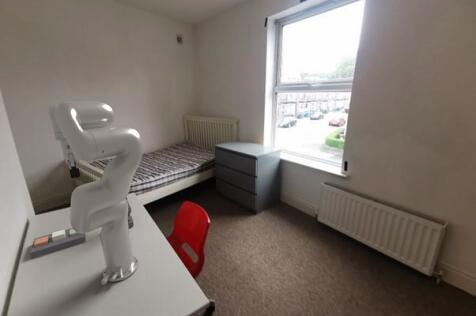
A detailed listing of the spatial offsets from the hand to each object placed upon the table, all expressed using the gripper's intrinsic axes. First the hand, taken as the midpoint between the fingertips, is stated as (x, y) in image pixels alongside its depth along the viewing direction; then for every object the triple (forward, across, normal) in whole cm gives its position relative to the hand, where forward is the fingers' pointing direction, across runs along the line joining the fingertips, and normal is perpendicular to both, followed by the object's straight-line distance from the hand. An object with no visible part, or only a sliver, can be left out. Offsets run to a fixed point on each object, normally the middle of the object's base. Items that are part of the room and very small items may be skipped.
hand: (75, 176), depth 94 cm
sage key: (+32, +7, +5) cm, 33 cm away
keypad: (+33, +7, +11) cm, 35 cm away
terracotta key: (+32, +7, +17) cm, 37 cm away
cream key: (+31, +7, +11) cm, 34 cm away
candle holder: (+33, +3, -17) cm, 37 cm away
